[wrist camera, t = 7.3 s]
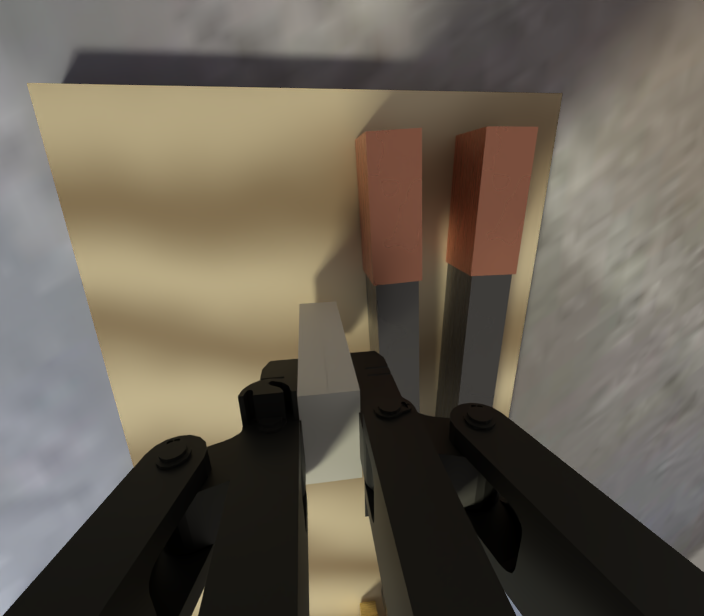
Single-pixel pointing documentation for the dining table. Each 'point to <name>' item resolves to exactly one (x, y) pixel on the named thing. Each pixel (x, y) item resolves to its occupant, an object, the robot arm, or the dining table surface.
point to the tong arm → (392, 247)
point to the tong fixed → (481, 259)
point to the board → (258, 255)
